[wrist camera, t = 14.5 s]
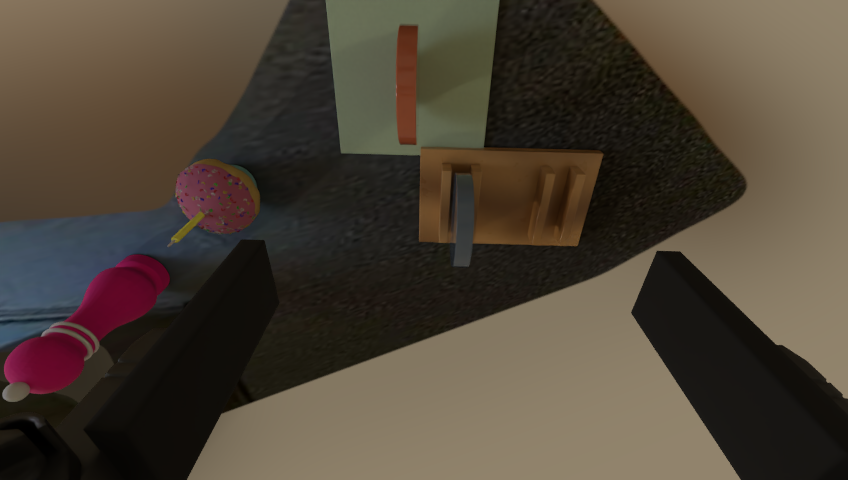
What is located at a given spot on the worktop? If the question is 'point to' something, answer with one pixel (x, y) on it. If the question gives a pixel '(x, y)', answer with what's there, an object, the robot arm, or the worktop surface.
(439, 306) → the worktop surface
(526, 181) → the coaster rack
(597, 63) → the worktop surface
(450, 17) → the sage mat
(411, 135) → the terracotta coaster
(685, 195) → the worktop surface
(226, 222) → the cupcake
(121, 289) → the pepper mill
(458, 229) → the slate coaster
